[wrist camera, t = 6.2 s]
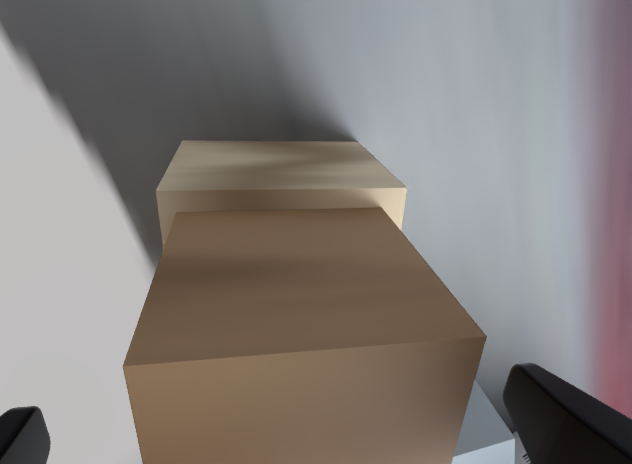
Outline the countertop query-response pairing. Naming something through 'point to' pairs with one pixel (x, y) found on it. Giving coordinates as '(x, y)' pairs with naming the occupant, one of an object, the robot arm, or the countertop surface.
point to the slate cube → (483, 434)
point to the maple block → (275, 179)
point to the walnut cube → (298, 344)
